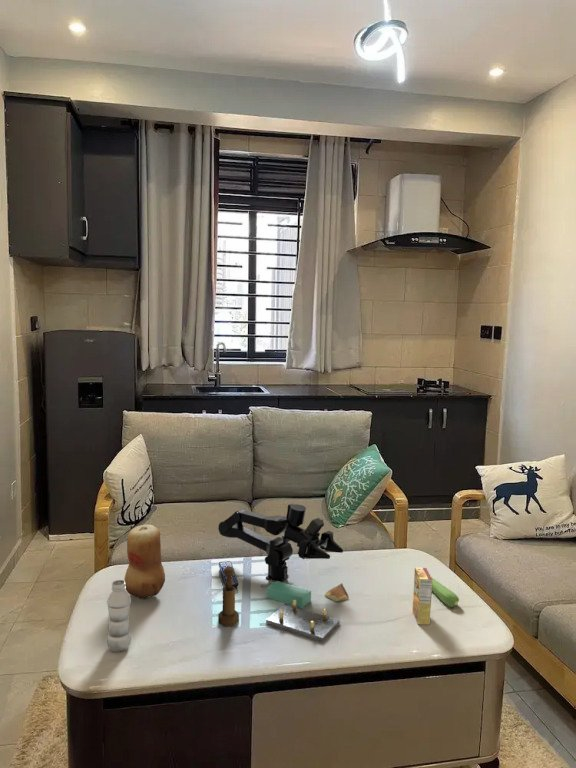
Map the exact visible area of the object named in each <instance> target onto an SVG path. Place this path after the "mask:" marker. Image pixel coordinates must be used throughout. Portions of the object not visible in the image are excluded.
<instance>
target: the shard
mask: <svg viewBox="0 0 576 768" xmlns="http://www.w3.org/2000/svg"><path fill="white" fill-rule="evenodd" d="M324 597H326V598H328V599H331V600H333V601H335V602H340V601H344V600H349V595H348V593H347V591H346V588H345V587H344V584H343V583H340V584H338V585H337V586H335V587H332V588H331V589H329V590H328V591H327V592H325V594H324Z"/></svg>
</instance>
